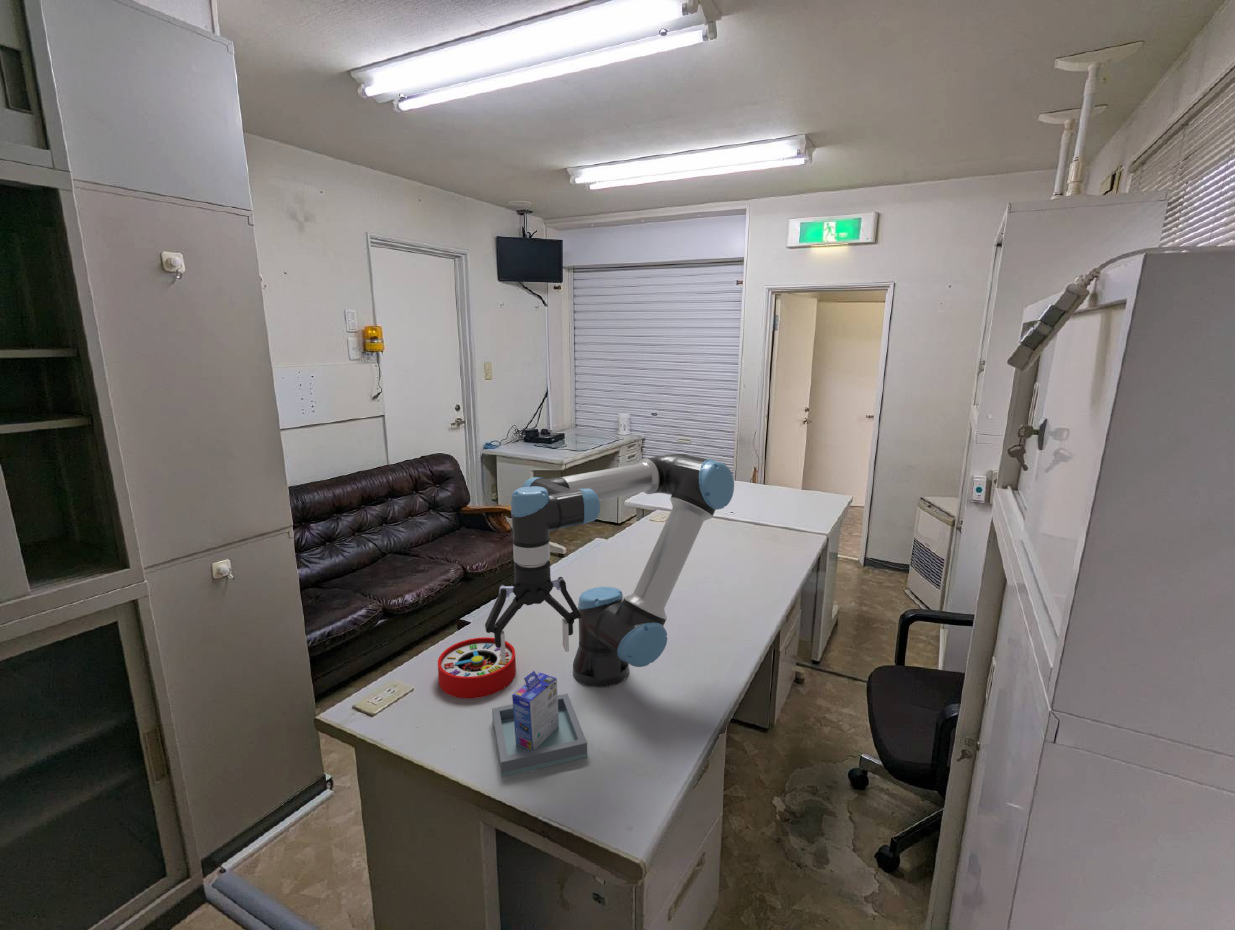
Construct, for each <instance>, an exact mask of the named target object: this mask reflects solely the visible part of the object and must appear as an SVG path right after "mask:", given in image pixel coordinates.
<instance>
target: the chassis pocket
mask: <svg viewBox="0 0 1235 930" xmlns="http://www.w3.org/2000/svg"><path fill="white" fill-rule="evenodd" d="M491 709H492V710H491V716H492V726H493V733H494V737H495V744H496V751H497V756H498V763H499V770H500V775H501V778H505V777H508V776H512V775H517V774H522V773H526V772H530V771H534V770H535V771H536V770H538V769H544V768H548V767H551V766H555V765H560V764H564V763H568V762H569V763H570V762H572V761H577V760H581V759H587V758H588V741H587V739H586V736H585V733H584V732H583V729H582V726H581V724H580V721H579V719H578V717H577V713H576V711H575V709H574V706H573V704H572V701H571V699H570V696H569V693H563V694H558V716H559V726H558V727H557V728H556V729H555V730H554V731H553V733H552V734H551V735H550V736H549V737H548V738H547V739H546V740H545V741H544V742H543V743H542V744H541V745H540V746H539V747H538V748H537V749H535V750H530V751H529V750H527V749H525V748H523V747H521V746H519V745H517V744H516V739H515V726H514V712H513V703H512V704H507V705H502V706H497V707H492V708H491Z"/></svg>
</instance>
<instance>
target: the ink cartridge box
mask: <svg viewBox="0 0 1235 930" xmlns="http://www.w3.org/2000/svg"><path fill="white" fill-rule="evenodd" d="M524 682H525V684H523V686H521V687H520V688H519V689H518V690H516V691H515V692H514V693H513V694H512V695H511V698H512V704H513V712H514V726H515V739H516V744H517V745H519V746H521V747H523V748H525V749H527V750H529V751H530V750H535V749H537V748H538V747H539V746H540V745H541V744H542V743H543V742H544V741H545V740H546V739H547V738H548V737H549V736H550V735H551V734H552V733H553V731H554V730H555V729H556V728H557V727H558V726H559V716H558V695H559V694H558V679H557V677H554V676H551V675H549V674H546V673H543V672H538V673H536V671H535V670H533V671H532V672H530V673H529V674H527V676H525V677H524Z"/></svg>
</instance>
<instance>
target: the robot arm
mask: <svg viewBox="0 0 1235 930" xmlns="http://www.w3.org/2000/svg"><path fill="white" fill-rule="evenodd" d="M734 491H735V481H734V476H733V473H732V471H731V470H730V468H729V467H728V465H726V464H725V463H723V462H721V461H717V460H714V459H712V458H704V457H699V456H694V455H690V454H686V453H672V454H671V453H670V454H664V455H660V456H653V457H647V458H643V459H641V460H640V461H639V462H638V463H636V464H635V463H634V464H629V465H623V466H618V467H611V468H605V469H601V470H595V471H589V472H584V473H578V474H572V475H566V476H560V477H554V478H553V477H552V478H548V479H546V478H545V477H536V476H534V477H531V478H529V479H527V480H526V481H525V482H524V483H523V485H522V487H519V488H517V489H515V490H513V492H512V494H511V505H510V506H511V507H510V515H511V526H512V527H511V528H512V551H513V554H512V555H513V562H514V563H513V577H514V579H513V580H514V581H513V585H510V586H506V585H504V584H500V585H498V586H499V587H498V595H497V597H496V600H495V602H494V604H493V606H492V608H491V610H490V613H489V615H488V618H487V619H486V622H485V624H484V628H485V632H486V633H487V634H491V633H493V635H494V637H493V638H495V646H496V648H497V647H500V652H501V660H502V663H505V662H506V654H505V641H506V636H505V634H506V633H505V630H504V629H505V628H506V626H507V625H508V624H509V623H510V621H511V620H512V618H513V617H514V616H515V615H516V613H517V612H518V611H519V610H520V609H522V607H523V606H524V605H526V606H532V605H540V604H541V605H542V603H543V602H546V603H547V604H548V605H550V606H551V607H552V608H553V610H555V611H556V612H557V613H558V614H559V615H560V616H561V617H562V619H561V622H562V623H561V625H562V627H561V628H562V629H561V630H562V633H561V634H562V647H563V649H564V652H566V653H567V652H568V653H569V652H570V645H569V644H570V643H569V640H570V639H569V637H570V636H573V634H574V623H575V620H577V619H578V647H577V651H576V653H575V656H574V658H573V663H572V674H573V677H574V678H575V679H576V681H578V682H579V683H581V684H582V685H585V686H588V687H593V688H594V687H596V688H605V687H611V686H615V685H617V684H619V683H621V682H623V681H625V679H627V677H628V675H629V672H630V670H629V669H630V668H629V665H631V666H632V667H636V668H643V667H646V666H649V665H650V664H653V663H654V662H655V661H657V660H658V659H659V657H661V656H662V654H663V652H664V651H665V649H666V646H667V643H668V637H667V636H668V632H667V630H666V628H665V627H664V626H665V623H666V622H667V619H668V617H667V614H666V611H665V608H666V606H667V603H668V601H669V600H670V597H671V595H672V593H673V591H674V589H675V586H676V584H677V581H678V579H679V578H680V575H681V573H682V570H683V568H684V565H686V561H687V559H688V558H689V555H690V552H691V551H692V548H693V546H694V544H695V542H696V539H697V538H698V535H699V533H700V531H701V529H702V526H703V524H704V522H705V521H707V520H710V519H712V518H713V516H714V514H715V513H716V511H717V510H722V509H724V508H725V507H727V506H728V505H729V504H730V502H731V501H732V498H733V496H734ZM640 493H644V494H646V495H653V494H666V495H670V497H669V500H670V502H671V506H672V507H671V510H670V512H669V515H668V517H667V518H666V522H665V523H664V525H663V527H662V530H661V532H660V534H659V537H658V538H657V540H656V543H655V545H654V546H653V549H652V552H651V553H650V556H649V558H648V560H647V562H646V564H645V566H644V568H643V571H642V573H641V575H640V578H639V579H638V582H637V584H636V586H635V588H634V590H633V592H632V593H631V594H628V595H626V596H624V595H623V592H622V590H621V589H619V588H617V587H613V586H597V587H593V588H590V589H589V588H588V589H587V590H585V591H583V592H581V594H580V595H579V597H578V604H577V605H576V604H575V602H574V600H573V598H572V597H571V595H570V593H569V591H568V589H567V583H566V581H565V579H564V577H562V576H559V577H558V578H557V579H554V580H552V579H551V561H550V559H551V551H550V547H551V545H550V540H551V539H550V532H551V531H555V530H560V529H561V530H562V529H564V528H565V529H566V528H570V527H575V526H579V525H585V524H589V523H592V522H594V521H596V520H597V519H598V517H599V516H600V512H601V503H600V502H601V501H605V500H610V499H611V500H612V499H616V498H621V497H624V496H630V495H634V494H640ZM553 588H556V590H557V591H560V592H561V594H562V596H563V597H564V600H565V601H566V603H567V604H568V606H569V608H570V609H571V612H569V611H568V610H567V609H566V608H565V607H564V606H563V605H562V604H561V603H560V602H559V601H558V600H557V599H555V598H554V596H552V595H551V591H552V590H553ZM512 593H513V594H514V595H515V597H513V599H512V601H511V603H510V604H509V606H508V607H507V608H506V610H505V611H504V612H503V614H502V615H501V616H500V614H501V612H502V610H503V608H504V605H505V604H506V599H507V598H509V597H510V596H511V594H512ZM499 616H500V617H499Z"/></svg>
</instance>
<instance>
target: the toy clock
mask: <svg viewBox="0 0 1235 930" xmlns="http://www.w3.org/2000/svg"><path fill="white" fill-rule="evenodd" d="M505 654H506V662H505V663H502V660H501V652H500V647H497V648H496V646H495V638H494V637H486V636H485V637H484V636H483V637H474V638H473V637H472V638H469V639H465V640H461V641H459V642H457V643H456V642H455V643H454V644H452V645H451V646H449V647H447V648H446V649H445V650H444V651H442V652H441V654H440V655H439V657H438V660H437V672H438V673H437V674H438V685H439V687H440V690H441V691H443V693H445V694H446V695H449V696H451V697H454V698H458V699H459V698H460V699H467V700H468V699H478V698H479V699H480V698H484V697H488V696H491V695H494V694H497V693H499V692H500V691H502V690H504V689H506V688H507V687H508V686H509V685H510V684H511V683H512V682H513V681H514V679H515V677H516V675H517V665H516V661H517V659H516V650H515V648H514V646H513V645H512V644H511V643H510V642H508V641H506V640H505Z"/></svg>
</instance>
